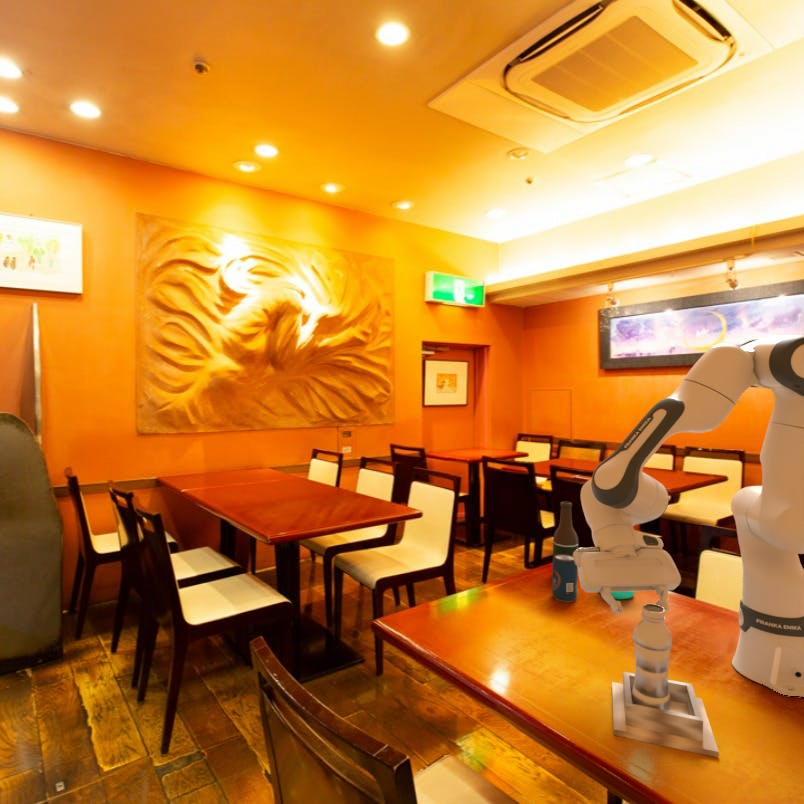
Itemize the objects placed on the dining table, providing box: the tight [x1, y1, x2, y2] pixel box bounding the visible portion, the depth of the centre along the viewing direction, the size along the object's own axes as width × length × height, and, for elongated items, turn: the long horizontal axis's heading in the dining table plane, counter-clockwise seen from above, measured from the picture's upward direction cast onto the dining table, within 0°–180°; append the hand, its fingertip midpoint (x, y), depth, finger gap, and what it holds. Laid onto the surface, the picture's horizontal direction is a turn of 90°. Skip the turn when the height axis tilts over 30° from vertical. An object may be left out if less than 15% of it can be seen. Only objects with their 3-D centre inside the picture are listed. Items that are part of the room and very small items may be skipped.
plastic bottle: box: [631, 603, 673, 711], centre depth 96 cm, size 6×7×20 cm
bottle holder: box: [611, 671, 720, 758], centre depth 97 cm, size 16×16×4 cm
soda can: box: [551, 554, 578, 603], centre depth 152 cm, size 7×7×12 cm
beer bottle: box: [552, 501, 579, 577], centre depth 170 cm, size 8×8×24 cm
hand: (641, 611), depth 103 cm, fingers open, 8 cm apart
